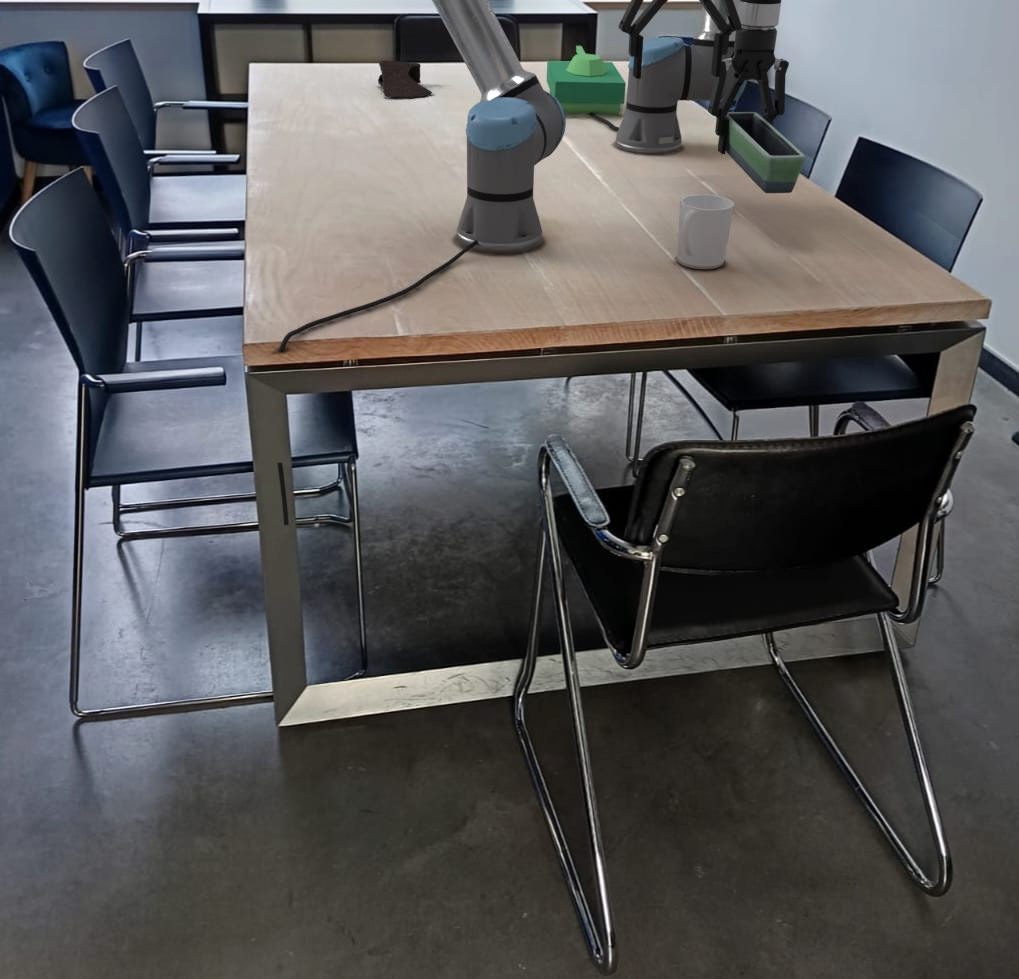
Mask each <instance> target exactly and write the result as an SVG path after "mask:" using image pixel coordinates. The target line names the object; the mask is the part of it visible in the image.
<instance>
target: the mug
mask: <svg viewBox="0 0 1019 979" xmlns="http://www.w3.org/2000/svg"><path fill="white" fill-rule="evenodd" d="M734 207H735V203H734V201H733V200H732V199H729V198H727V197H725V196H721V195H716V194H706V193H705V194H704V193H696V194H695V193H694V194H689V195H684V196H683V197H681V198H680V200H679V212H678V213H679V214H678V231H677V232H678V234H677V251H676V260H677V262H678V263H679V264H680V265H682V266H684V267H687V268H691V269H695V270H714V269H718V268H720V267H722V266H723V265H724V263H725V259H726V254H727V248H728V247H727V246H728V242H729V235H730V231H731V226H732V225H731V224H732V219H733V213H734Z"/></svg>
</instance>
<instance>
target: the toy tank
mask: <svg viewBox="0 0 1019 979" xmlns="http://www.w3.org/2000/svg"><path fill="white" fill-rule="evenodd" d="M575 52H576V54H574V56H572V59H571V60H569V61H567V60H565V61H564V60H547V61H546V83H547V87H548V88H549V93H550V94H552V95H553V96H554V97H555V98H556V99H557V100H558V101H559V102H560V104H561V106H562V108H563V111H564V114H565V115H587V114H589V113H591V112H592V113H594V114H596V115H598V116H601V115H605V116H606V115H610V116H613V115H615V116H619V115H620V114H621V105H625V98H626V86H627V85H626V84H627V82H626V80H624V78H623V77H622V75H621V73H620V72H619V70H618V68H617V67H616V66H615V64H614V63H613V62H612V61H604V60H603V57H602V56H600V55H597V54H591V53H586V51H585V50H584V48H583V46H582V45H576V46H575Z"/></svg>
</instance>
